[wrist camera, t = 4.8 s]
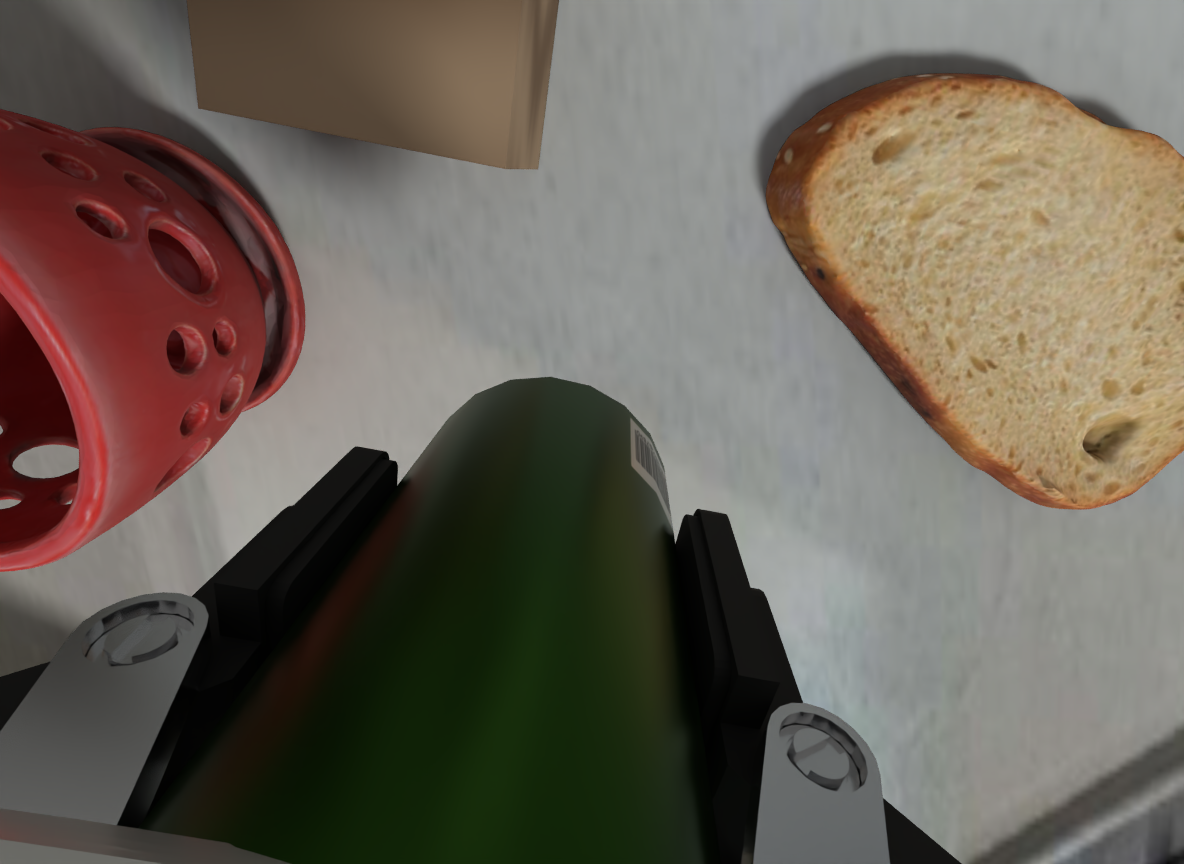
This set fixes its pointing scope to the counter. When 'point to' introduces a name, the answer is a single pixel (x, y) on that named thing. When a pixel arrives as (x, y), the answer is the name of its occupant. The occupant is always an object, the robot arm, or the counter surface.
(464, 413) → the beer can
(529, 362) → the counter surface
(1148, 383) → the bread slice
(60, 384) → the plant pot
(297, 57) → the walnut block
